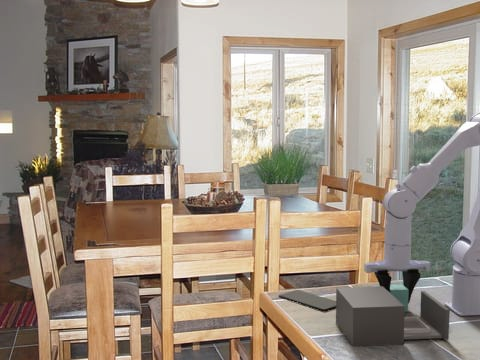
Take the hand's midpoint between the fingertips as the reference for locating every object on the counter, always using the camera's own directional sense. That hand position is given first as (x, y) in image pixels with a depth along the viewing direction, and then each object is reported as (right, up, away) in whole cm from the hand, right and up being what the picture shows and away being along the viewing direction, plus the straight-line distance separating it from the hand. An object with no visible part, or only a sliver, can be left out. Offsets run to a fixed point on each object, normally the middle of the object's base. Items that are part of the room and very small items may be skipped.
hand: (396, 302), depth 131 cm
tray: (0, -3, -13) cm, 13 cm away
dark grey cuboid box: (-9, -3, -14) cm, 17 cm away
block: (0, -1, 0) cm, 1 cm away
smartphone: (-19, -2, +7) cm, 20 cm away
